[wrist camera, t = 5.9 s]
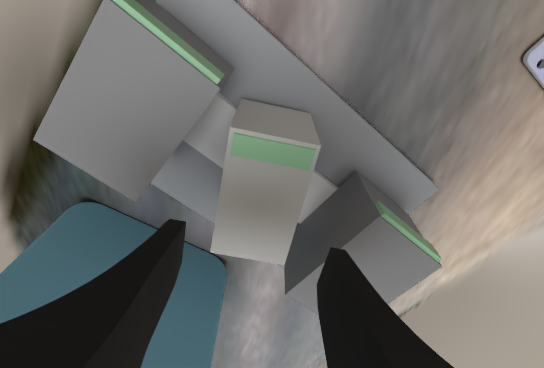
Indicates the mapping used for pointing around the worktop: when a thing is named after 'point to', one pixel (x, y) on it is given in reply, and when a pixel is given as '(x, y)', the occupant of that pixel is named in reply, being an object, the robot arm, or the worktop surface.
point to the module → (264, 181)
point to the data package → (103, 255)
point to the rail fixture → (215, 131)
